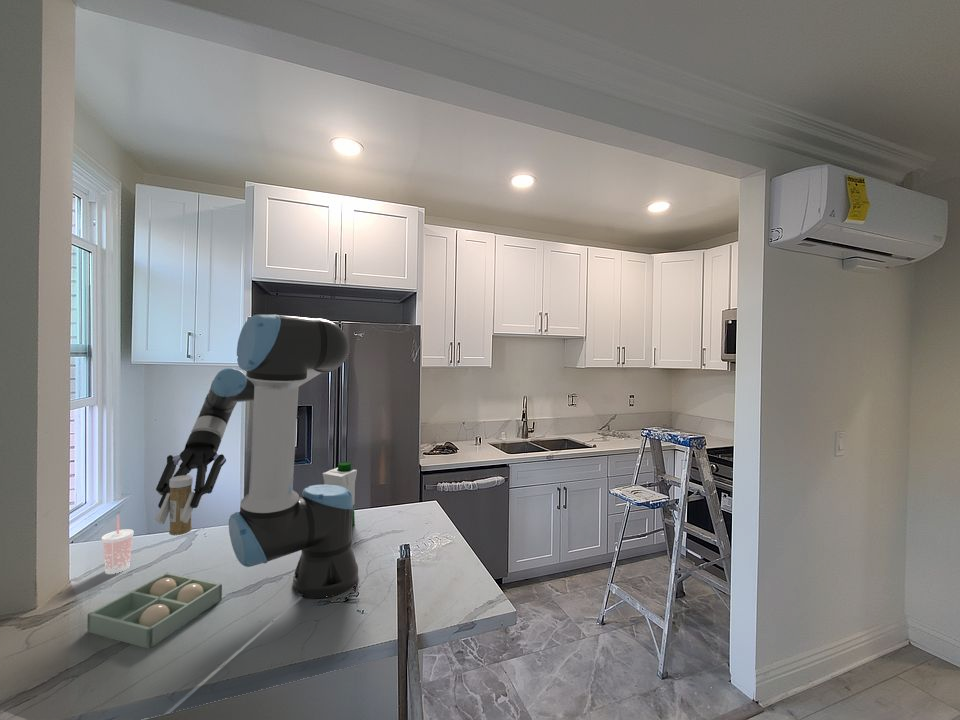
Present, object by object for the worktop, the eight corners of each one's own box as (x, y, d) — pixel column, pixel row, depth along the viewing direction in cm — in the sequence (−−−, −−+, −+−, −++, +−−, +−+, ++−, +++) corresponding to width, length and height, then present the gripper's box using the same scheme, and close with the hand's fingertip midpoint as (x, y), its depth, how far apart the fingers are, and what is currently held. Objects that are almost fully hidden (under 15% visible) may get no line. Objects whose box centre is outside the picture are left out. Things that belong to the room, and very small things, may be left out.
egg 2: (175, 624, 83) (175, 601, 83) (151, 640, 78) (151, 615, 78) (157, 619, 84) (157, 596, 84) (132, 635, 79) (132, 611, 79)
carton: (221, 601, 91) (221, 583, 91) (148, 651, 76) (149, 629, 76) (166, 589, 95) (167, 572, 95) (87, 634, 80) (87, 614, 80)
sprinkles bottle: (191, 533, 99) (192, 478, 98) (167, 537, 96) (168, 481, 96) (192, 526, 102) (192, 473, 102) (169, 530, 100) (170, 476, 100)
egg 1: (181, 596, 92) (182, 575, 92) (160, 609, 87) (160, 587, 87) (165, 592, 93) (165, 571, 93) (143, 605, 89) (143, 583, 88)
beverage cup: (138, 561, 107) (138, 509, 107) (125, 574, 101) (126, 518, 101) (109, 564, 105) (110, 511, 105) (95, 577, 99) (95, 520, 99)
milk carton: (358, 523, 134) (360, 463, 134) (339, 534, 126) (341, 470, 125) (337, 518, 138) (339, 460, 137) (317, 529, 129) (319, 466, 129)
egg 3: (208, 602, 90) (209, 580, 90) (188, 615, 86) (188, 593, 85) (191, 598, 91) (192, 577, 91) (170, 611, 87) (171, 589, 87)
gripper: (244, 443, 116) (217, 525, 100) (176, 444, 112) (137, 529, 96) (237, 428, 110) (207, 512, 94) (165, 429, 107) (121, 516, 91)
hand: (171, 521), depth 95 cm, fingers closed on sprinkles bottle, 4 cm apart
